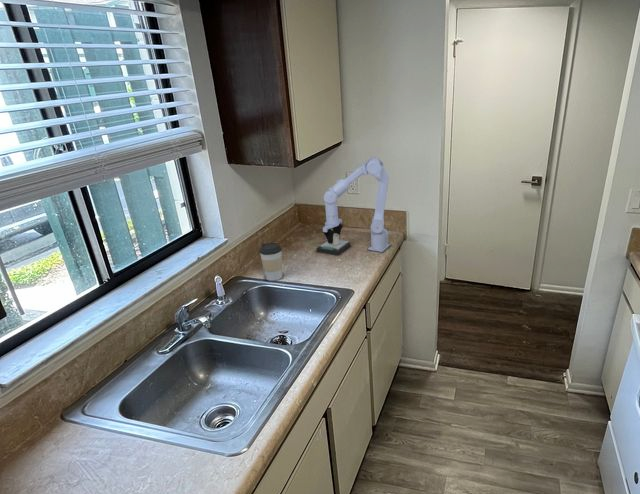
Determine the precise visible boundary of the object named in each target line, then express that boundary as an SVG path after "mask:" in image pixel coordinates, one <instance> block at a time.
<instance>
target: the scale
mask: <svg viewBox="0 0 640 494" xmlns="http://www.w3.org/2000/svg"><path fill="white" fill-rule="evenodd" d="M351 246H352V245H351V242H349V240H344V239H340V243H339V244H338V245H334V246H332V245H329V244H328V241H327V240H326V241H325V242H323V243H321V244H320V245H319V246H317V247H316V252H318V253H323V254H329V255H334V256H339V255H341V254H342V253H343V252H345V251H346V250H348V249H349V248H351Z"/></svg>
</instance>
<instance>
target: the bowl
mask: <svg viewBox="0 0 640 494" xmlns="http://www.w3.org/2000/svg"><path fill="white" fill-rule="evenodd" d="M340 240H341V238H340V237H339V234H337V233H334V235H333V243H332V244H329V243H328V244H329V245H332V246H334V245H338V244H339V243H340Z"/></svg>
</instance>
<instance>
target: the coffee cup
mask: <svg viewBox="0 0 640 494" xmlns="http://www.w3.org/2000/svg"><path fill="white" fill-rule="evenodd" d="M282 250H283V249H282V246H281V245H279V244H278V243H277V242H266V243H262V245H261V247H260V248H259V250H258V253H259V254H260V260H261V264H262V268H263V272H264V276H265V280H267V281H270V282H273V281H278V280H280V279H282V278H283V253H282Z"/></svg>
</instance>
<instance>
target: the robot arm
mask: <svg viewBox="0 0 640 494" xmlns="http://www.w3.org/2000/svg"><path fill="white" fill-rule="evenodd" d="M367 175H370V176H373V177H374V178H375V179H376V180H377V181H378V183H377V192H376V200H375V208H374V215H373V217H372V219H371V224H370V246H369V247H368V248H367V250H368V251H374V252H378V253H379V252H380V253H383V252H384V251H386V250H387V249H388V248H389V247H390V246H391V244H390V243H389V232H388V230H387V229H386V228H385V218H384V215H385V208H386V200H387V193H388V187H389V181H390V180H389V179H390V178H389V177H390V176H389V173H388V172H387V169H386V167H385V165H384V162H383V161H382V160H381V159H380V158H378V157H376V156H372V157H369V158H368V160H366V161H364V162H363V163H361V164H360V165H359V166H358V167H357V168H356V169H354V171H352V173H350V174H349V175H348V176H347V177H345V178H340V179H337V180H336V183H335V184H333V186H330V187H328V189H327V190H326V191H325V193H324V194H323V201H324V205H325V206H324V210H325V222H324V226H323V227H322V233H323V234H324V236H325V238H326V241H328V243H329V244H332V243H333V235H334V233H337V234H339V238H340V237H341V231H342V230H343V227H344V225H343V224H342V223H343V219H342V218H339V211H338V210H339V208H338V201H337V199H338V198H340V197H341V196H342V195H344V194H345V193H346V192H347V191H348V190H349V189H350V185H351V184H352V183H354V182H355V181H356V180H357V179H359V178H360V177H362V176H367Z"/></svg>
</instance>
